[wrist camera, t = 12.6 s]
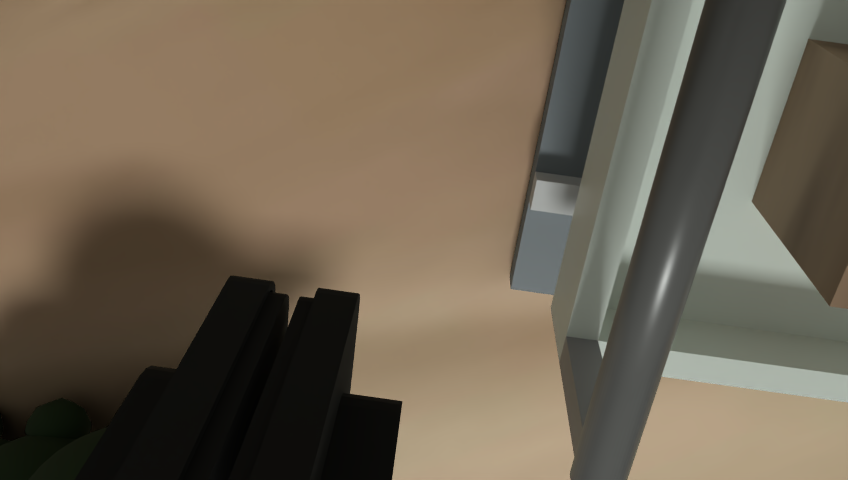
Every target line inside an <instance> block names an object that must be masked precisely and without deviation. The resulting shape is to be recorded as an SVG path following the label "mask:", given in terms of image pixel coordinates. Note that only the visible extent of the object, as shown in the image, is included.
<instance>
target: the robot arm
mask: <svg viewBox="0 0 848 480" xmlns="http://www.w3.org/2000/svg"><path fill="white" fill-rule="evenodd" d="M359 303H360V294H358V293H351V292H344V291H337V290H330V289H323V288H318V289H317V291H316V294H315V297H314V298H308V297H300V298H299V300H298V302H297V305H296V307H295V310H294V313H293V315H292V318H291V320H290V323H289V325H288V312H289V296H288V295H287V294H280V293H275V284H274V282H273V281H267V280H260V279H253V278H246V277H239V276H230V277H229V279H228V280H227V282H226V283H225V285H224V287H223V289H222V290H221V292H220V294H219V296H218V297H217V299H216V301H215V303H214V304H213V306H212V308H211V310H210V311H209V313H208V315H207V317H206V318H205V320H204V322H203V324H202V325H201V327H200V329H199V331H198V333H197V334H196V336H195V338H194V340H193V341H192V343H191V345H190V347H189V348H188V350H187V352H186V354H185V355H184V357H183V359H182V361H181V362H180V364H179V366H178V368H177V369H170V368H163V367H156V366H150V367H148V368H146V369H145V370H144V371H143V373H142V374H141V375H140V376H139V378H138V380H137V381H136V383H135V384H134V386H133V388H132V389H131V391H130V392H129V394H128V395H127V397H126V399H125V400H124V402H123V403H122V405H121V407H120V408H119V410H118V411H117V413H116V414H115V416H114V418H113V419H112V421H111V422H110V424H109V426H108V427H107V429H106V430H105V432H104V433H103V435H102V437H101V438H100V440H99V441H98V443H97V445H96V446H95V448H94V449H93V451H92V452H91V454H90V456H89V457H88V459H87V460H86V462H85V464H84V465H83V467H82V468H81V470H80V471H79V473H78V475H77V476H76V478H75V479H74V480H392V475H393V467H394V460H395V452H396V445H397V437H398V430H399V422H400V415H401V407H402V401H397V400H390V399H383V398H375V397H368V396H361V395H354V394H350V388H351V379H352V369H353V360H354V351H355V341H356V332H357V323H358V313H359Z"/></svg>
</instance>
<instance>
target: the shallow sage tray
mask: <svg viewBox="0 0 848 480" xmlns="http://www.w3.org/2000/svg"><path fill="white" fill-rule="evenodd" d="M808 39H813V40H820V41H827V42H835V43H842V44H848V0H624V4H623V8H622V13H621V17H620V21H619V25H618V29H617V33H616V38H615V42H614V46H613V50H612V54H611V58H610V63H609V67H608V71H607V75H606V79H605V83H604V88H603V92H602V96H601V100H600V104H599V108H598V113H597V117H596V121H595V125H594V129H593V134H592V138H591V142H590V146H589V150H588V154H587V159H586V163H585V167H584V171H583V175H582V179H581V184H580V188H579V192H578V196H577V200H576V204H575V209H574V213H573V217H572V221H571V225H570V229H569V234H568V238H567V242H566V246H565V250H564V254H563V259H562V263H561V267H560V271H559V275H558V279H557V284H556V288H555V292H554V296H553V300H552V305H551V313H552V319H553V326H554V332H555V338H556V344H557V351H558V357H559V363H560V369H561V376H562V382H563V388H564V395H565V401H566V407H567V413H568V420H569V426H570V432H571V438H572V445H573V451H574V460H573V464H572V467H571V471H570V478H571V480H627V479H628V476H629V473H630V470H631V467H632V464H633V461H634V458H635V455H636V452H637V449H638V446H639V443H640V440H641V437H642V433H643V430H644V427H645V424H646V421H647V418H648V415H649V412H650V409H651V406H652V403H653V400H654V397H655V394H656V391H657V388H658V385H659V382H660V379H661V377H669V378H676V379H683V380H690V381H697V382H705V383H712V384H719V385H726V386H733V387H741V388H748V389H755V390H762V391H770V392H777V393H784V394H791V395H798V396H806V397H813V398H820V399H827V400H834V401H842V402H848V309H845V308H837V307H830V306H829V305H828V304H827V302H826V301H825V300H824V298H823V297H822V296H821V294H820V293H819V292H818V290H817V289H816V287H815V286H814V285H813V283H812V282H811V281H810V279H809V278H808V277H807V275H806V274H805V273H804V271H803V270H802V269H801V267H800V266H799V265H798V263H797V262H796V261H795V259H794V258H793V257H792V255H791V254H790V253H789V251H788V250H787V249H786V247H785V246H784V244H783V243H782V242H781V240H780V239H779V238H778V236H777V235H776V234H775V232H774V231H773V230H772V228H771V227H770V226H769V224H768V223H767V222H766V220H765V219H764V218H763V216H762V215H761V214H760V212H759V211H758V210H757V208H756V207H755V206H754V204H753V203H752V199H753V196H754V193H755V191H756V188H757V185H758V182H759V179H760V176H761V173H762V170H763V168H764V165H765V162H766V159H767V156H768V153H769V150H770V148H771V145H772V142H773V139H774V136H775V133H776V130H777V127H778V125H779V122H780V119H781V116H782V113H783V110H784V107H785V104H786V102H787V99H788V96H789V93H790V90H791V87H792V84H793V82H794V79H795V76H796V73H797V70H798V67H799V64H800V61H801V59H802V56H803V53H804V50H805V47H806V44H807V41H808Z"/></svg>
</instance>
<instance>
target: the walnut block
mask: <svg viewBox="0 0 848 480" xmlns="http://www.w3.org/2000/svg"><path fill="white" fill-rule="evenodd" d="M752 203H753V204H754V206H755V207H756V208H757V210H758V211H759V212H760V214H761V215H762V216H763V218H764V219H765V220H766V222H767V223H768V224H769V226H770V227H771V228H772V230H773V231H774V232H775V234H776V235H777V236H778V238H779V239H780V240H781V242H782V243H783V244H784V246H785V247H786V249H787V250H788V251H789V253H790V254H791V255H792V257H793V258H794V259H795V261H796V262H797V263H798V265H799V266H800V267H801V269H802V270H803V271H804V273H805V274H806V275H807V277H808V278H809V279H810V281H811V282H812V283H813V285H814V286H815V287H816V289H817V290H818V292H819V293H820V294H821V296H822V297H823V298H824V300H825V301H826V302H827V304H828V305H829V306H830V307H837V308H845V309H848V44H842V43H835V42H827V41H820V40H813V39H808V41H807V44H806V47H805V50H804V53H803V56H802V59H801V61H800V64H799V67H798V70H797V73H796V76H795V79H794V82H793V84H792V87H791V90H790V93H789V96H788V99H787V102H786V104H785V107H784V110H783V113H782V116H781V119H780V122H779V125H778V127H777V130H776V133H775V136H774V139H773V142H772V145H771V148H770V150H769V153H768V156H767V159H766V162H765V165H764V168H763V170H762V173H761V176H760V179H759V182H758V185H757V188H756V191H755V193H754V196H753V199H752Z"/></svg>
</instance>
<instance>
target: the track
mask: <svg viewBox="0 0 848 480" xmlns="http://www.w3.org/2000/svg"><path fill="white" fill-rule="evenodd" d="M623 4H624V0H567V2H566V7H565V12H564V16H563V21H562V26H561V31H560V36H559V41H558V46H557V50H556V55H555V60H554V65H553V70H552V75H551V79H550V84H549V89H548V94H547V99H546V104H545V108H544V113H543V118H542V123H541V128H540V133H539V137H538V142H537V147H536V152H535V157H534V162H533V166H532V171H531V176H530V181H529V186H528V191H527V196H526V200H525V205H524V210H523V215H522V220H521V225H520V229H519V234H518V239H517V244H516V249H515V254H514V258H513V263H512V268H511V273H510V285H511V289H515V290H522V291H529V292H536V293H543V294H551V295H554V292H555V288H556V284H557V279H558V275H559V271H560V267H561V263H562V259H563V254H564V250H565V246H566V242H567V238H568V234H569V229H570V225H571V221H572V217H573V213H574V209H575V204H576V200H577V196H578V192H579V188H580V184H581V179H582V175H583V171H584V167H585V163H586V159H587V154H588V150H589V146H590V142H591V138H592V134H593V129H594V125H595V121H596V117H597V113H598V108H599V104H600V100H601V96H602V92H603V88H604V83H605V79H606V75H607V71H608V67H609V63H610V58H611V54H612V50H613V46H614V42H615V38H616V33H617V29H618V25H619V21H620V17H621V13H622V8H623Z"/></svg>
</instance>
